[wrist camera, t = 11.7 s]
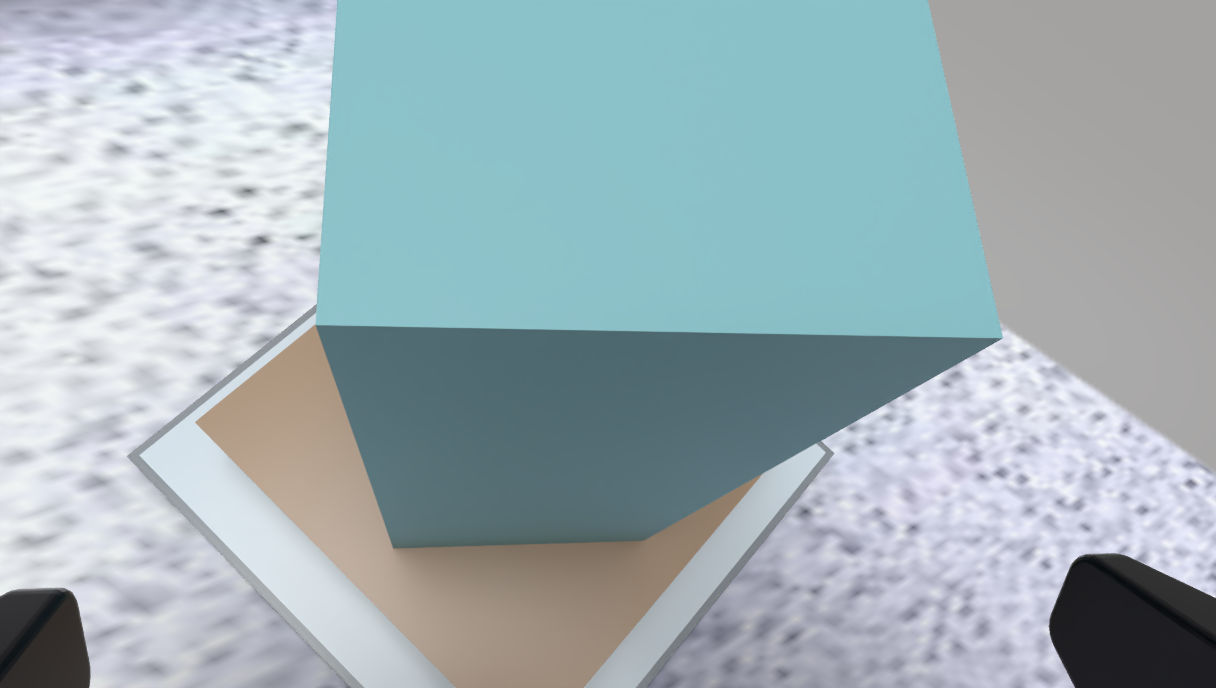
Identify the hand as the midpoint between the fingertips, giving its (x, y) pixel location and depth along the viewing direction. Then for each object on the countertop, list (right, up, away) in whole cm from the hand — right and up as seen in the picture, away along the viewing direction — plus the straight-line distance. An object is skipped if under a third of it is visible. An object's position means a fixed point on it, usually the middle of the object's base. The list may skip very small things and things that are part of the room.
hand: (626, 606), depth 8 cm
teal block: (-2, +1, +10) cm, 11 cm away
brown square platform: (-3, -1, +14) cm, 14 cm away
